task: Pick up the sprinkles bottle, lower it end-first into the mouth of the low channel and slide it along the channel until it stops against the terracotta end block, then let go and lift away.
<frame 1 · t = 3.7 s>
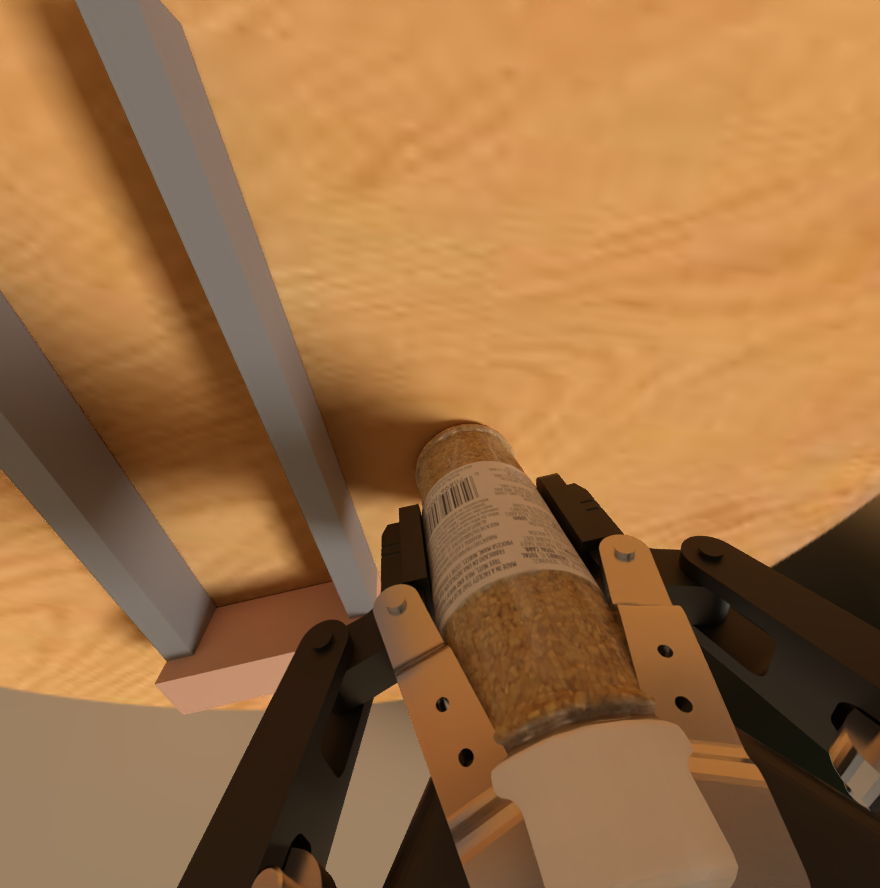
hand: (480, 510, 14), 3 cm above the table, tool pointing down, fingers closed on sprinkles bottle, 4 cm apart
guide channel: (188, 411, 14), on the table
sprinkles bottle: (464, 463, 17), on the table, touching gripper
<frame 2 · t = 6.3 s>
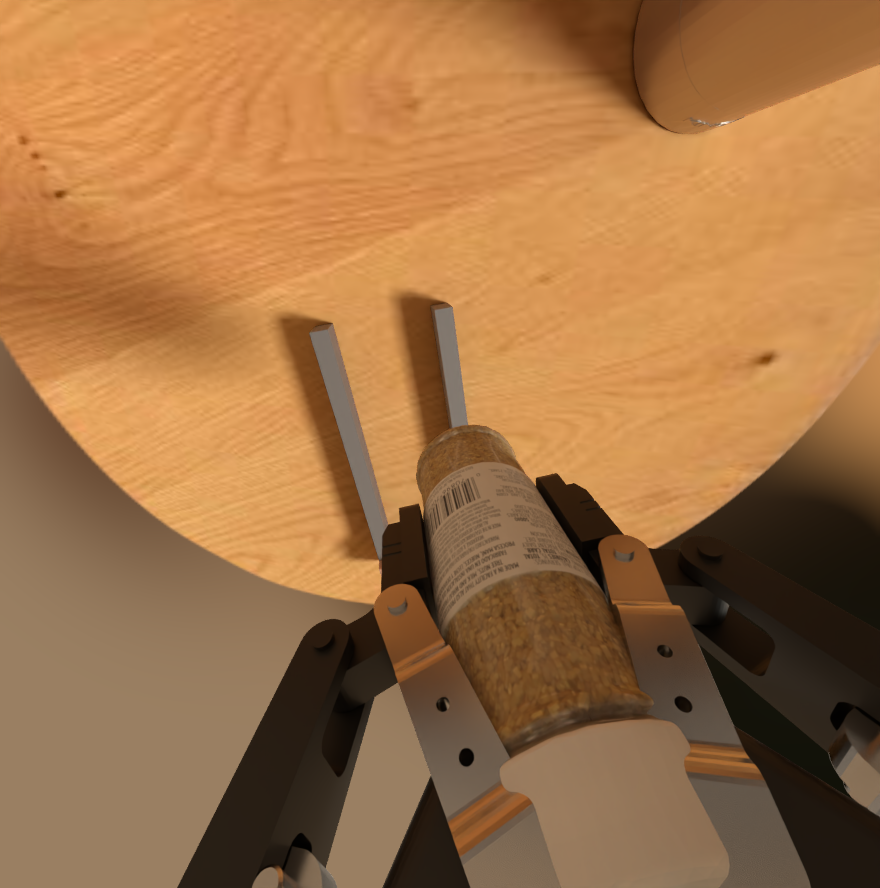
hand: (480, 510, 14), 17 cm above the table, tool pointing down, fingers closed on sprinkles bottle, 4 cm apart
guide channel: (408, 439, 31), on the table
sprinkles bottle: (464, 464, 17), point 14 cm above the table, touching gripper
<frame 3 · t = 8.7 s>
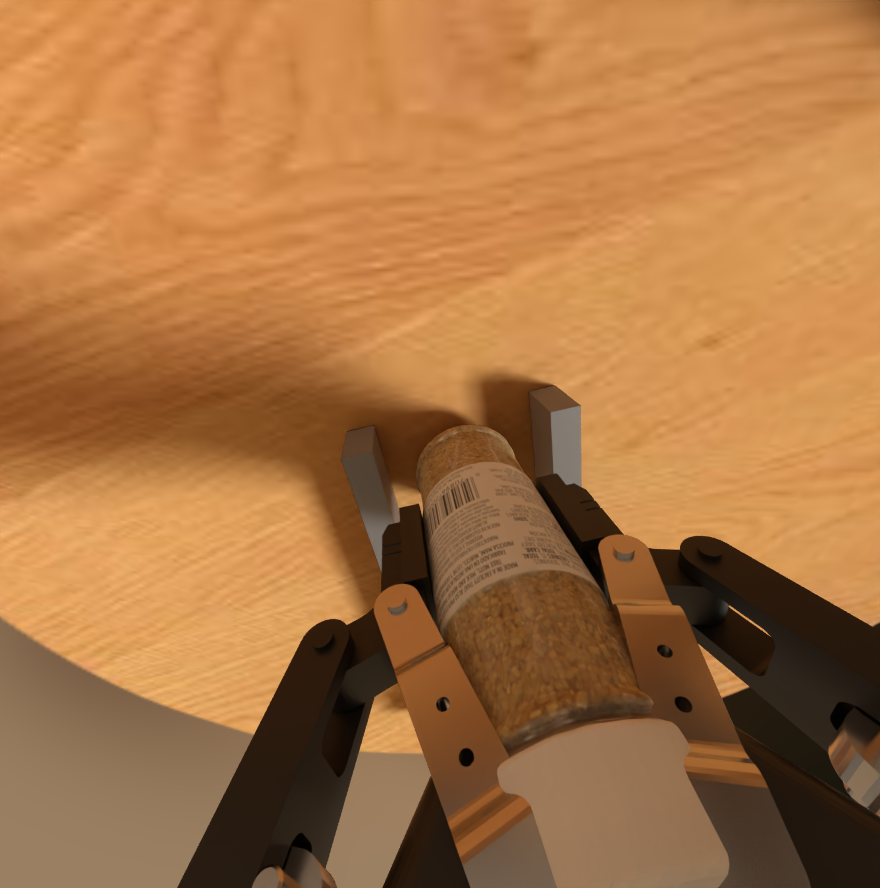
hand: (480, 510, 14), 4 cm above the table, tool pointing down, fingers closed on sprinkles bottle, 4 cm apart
guide channel: (481, 569, 21), on the table
sprinkles bottle: (464, 463, 17), point 1 cm above the table, touching gripper
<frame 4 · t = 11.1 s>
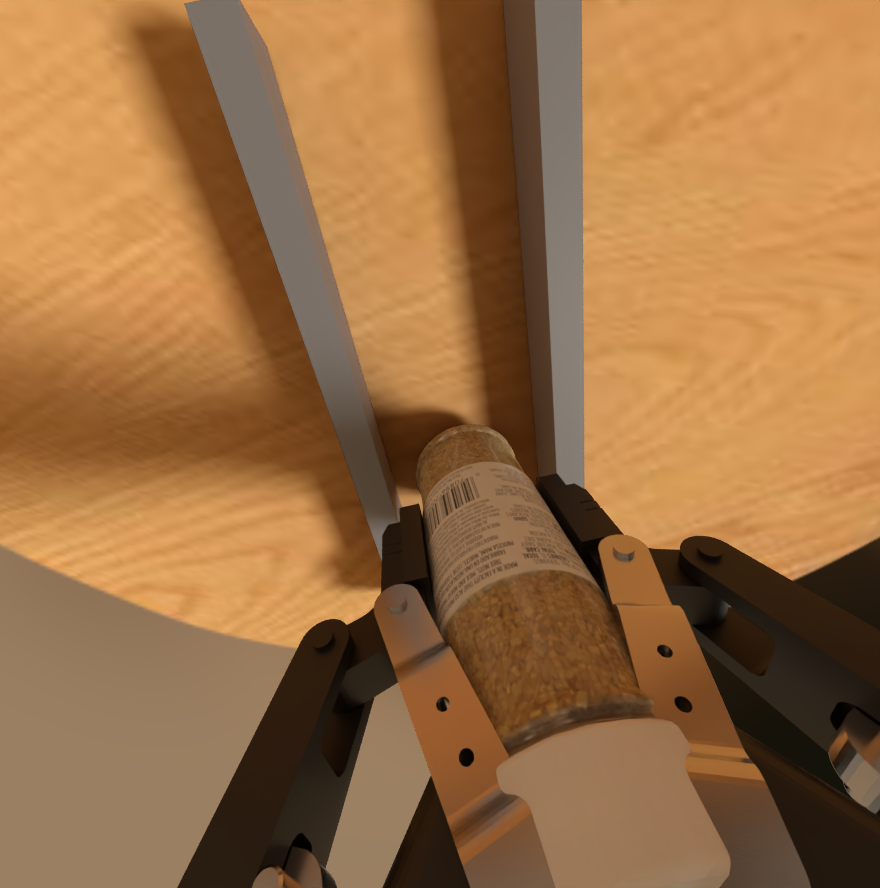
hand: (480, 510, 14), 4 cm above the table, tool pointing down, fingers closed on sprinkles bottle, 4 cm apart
guide channel: (446, 357, 16), on the table
sprinkles bottle: (464, 463, 17), point 1 cm above the table, touching gripper
when the fingers open (4 cm above the table, at t = 13.2 s): sprinkles bottle stays where it is, resting in guide channel.
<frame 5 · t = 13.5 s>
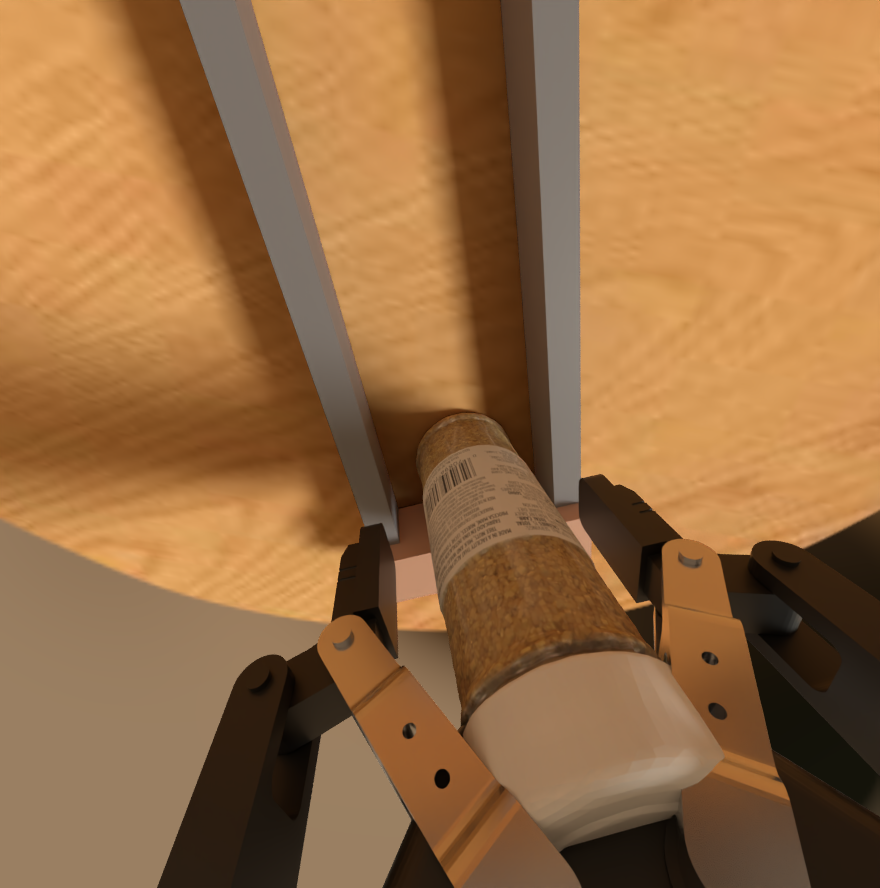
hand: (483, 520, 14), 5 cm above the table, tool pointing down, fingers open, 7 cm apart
guide channel: (428, 278, 14), on the table
sprinkles bottle: (462, 451, 18), resting in guide channel
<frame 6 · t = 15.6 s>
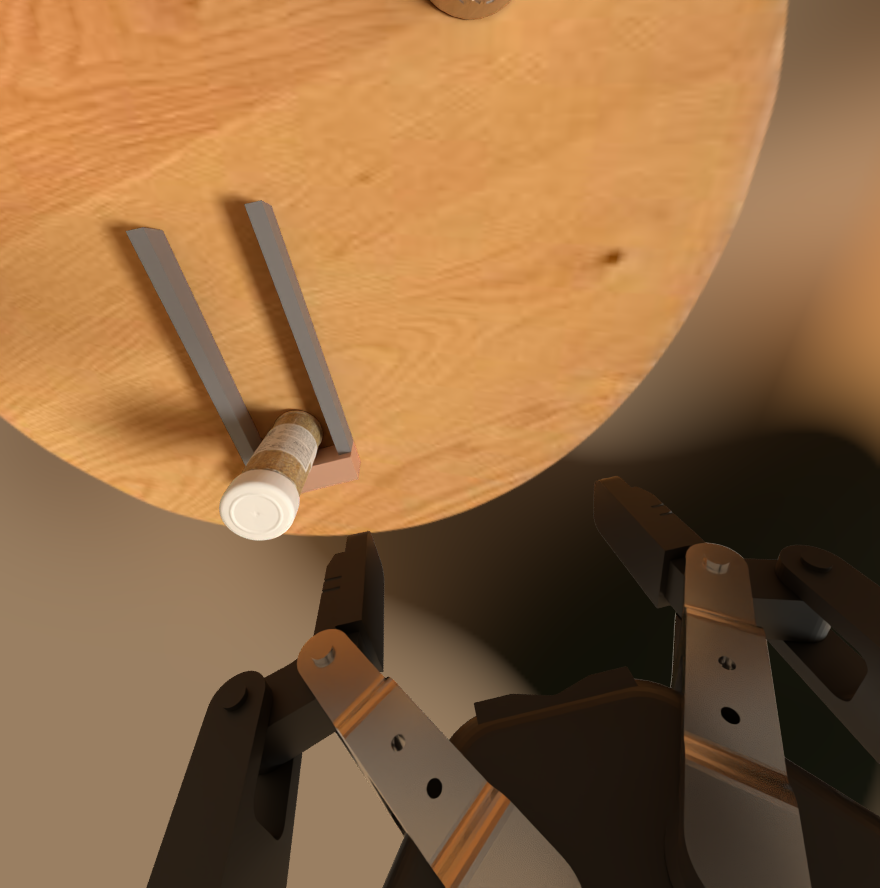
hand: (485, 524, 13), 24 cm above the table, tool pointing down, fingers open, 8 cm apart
guide channel: (264, 351, 32), on the table
sprinkles bottle: (299, 430, 36), resting in guide channel
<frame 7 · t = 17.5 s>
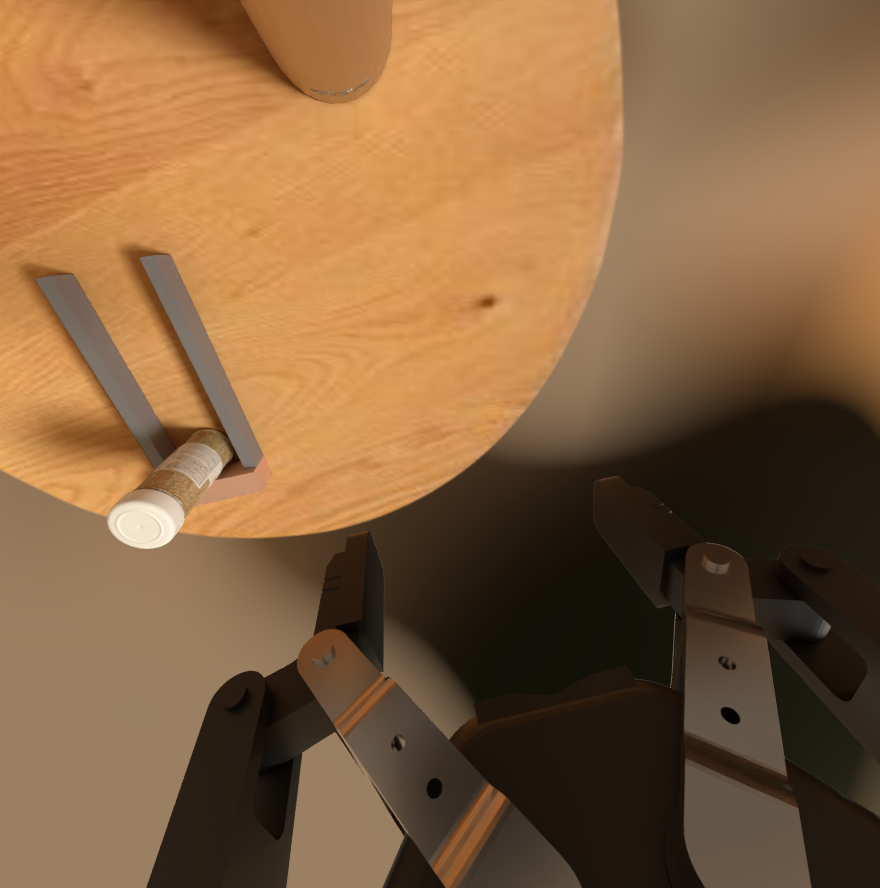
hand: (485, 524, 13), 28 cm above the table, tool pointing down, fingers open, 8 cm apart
guide channel: (174, 378, 37), on the table
sprinkles bottle: (213, 445, 40), resting in guide channel
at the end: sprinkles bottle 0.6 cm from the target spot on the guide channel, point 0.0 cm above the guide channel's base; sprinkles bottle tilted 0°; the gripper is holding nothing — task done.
